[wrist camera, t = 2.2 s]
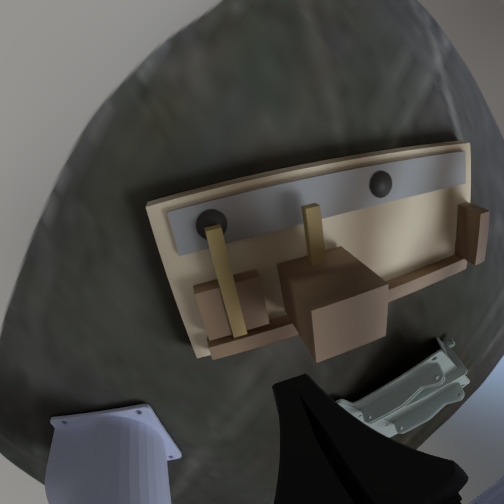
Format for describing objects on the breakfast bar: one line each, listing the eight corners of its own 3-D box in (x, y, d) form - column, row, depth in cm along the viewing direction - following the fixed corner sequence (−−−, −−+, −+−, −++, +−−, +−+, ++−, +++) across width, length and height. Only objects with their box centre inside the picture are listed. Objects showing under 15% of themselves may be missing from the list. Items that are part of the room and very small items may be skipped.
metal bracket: (450, 353, 20) (485, 394, 26) (422, 301, 25) (467, 355, 31) (307, 435, 26) (383, 452, 32) (299, 383, 30) (373, 414, 36)
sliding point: (284, 310, 20) (316, 362, 15) (267, 209, 17) (303, 243, 12) (343, 291, 20) (385, 335, 16) (336, 193, 17) (388, 219, 13)
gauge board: (195, 346, 21) (201, 384, 18) (147, 201, 17) (141, 220, 13) (455, 258, 24) (484, 276, 20) (458, 140, 20) (494, 147, 16)
